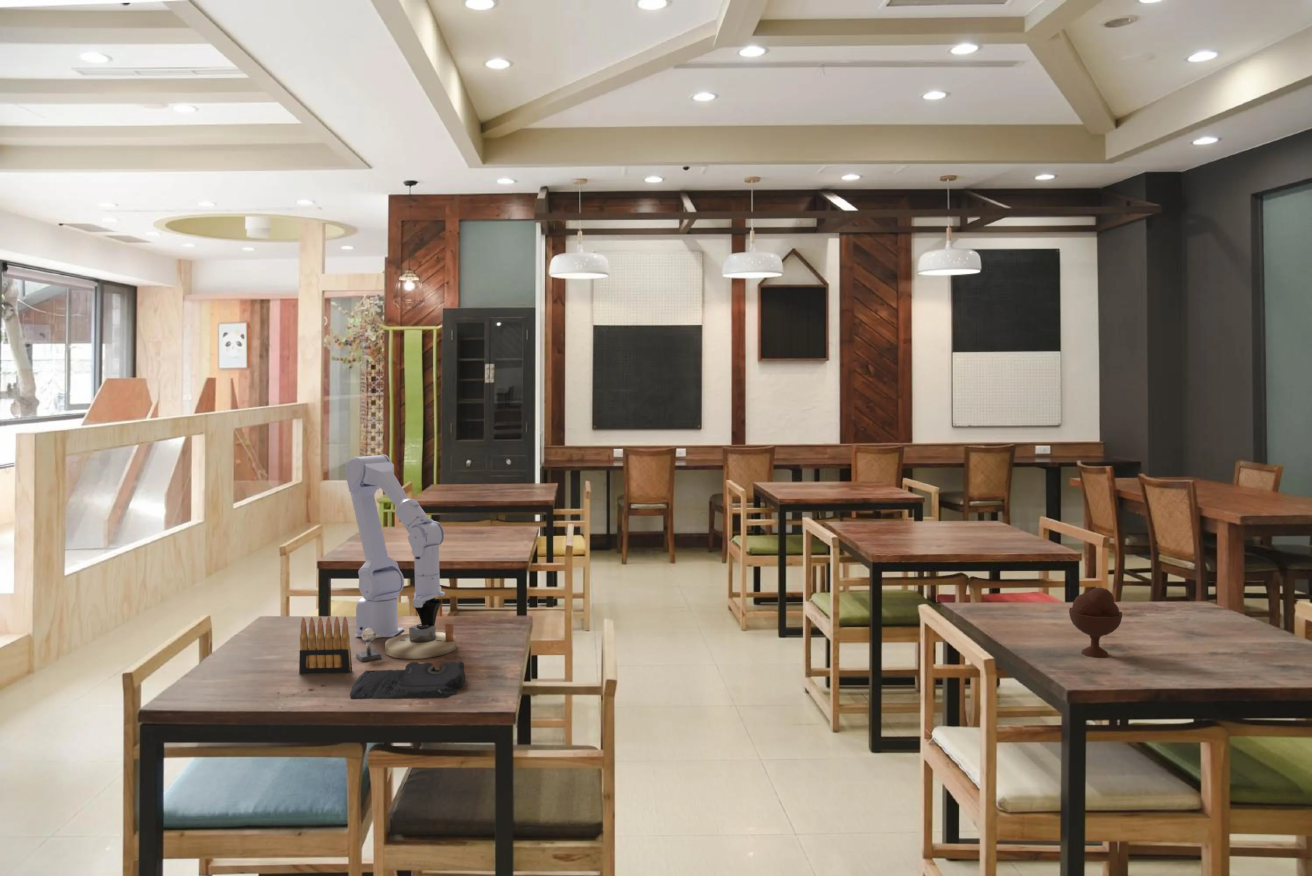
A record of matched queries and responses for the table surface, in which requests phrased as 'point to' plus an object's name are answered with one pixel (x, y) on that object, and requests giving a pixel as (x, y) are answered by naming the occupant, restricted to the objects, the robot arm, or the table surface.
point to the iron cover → (422, 633)
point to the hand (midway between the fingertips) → (428, 631)
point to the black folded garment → (410, 682)
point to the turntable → (421, 645)
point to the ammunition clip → (324, 648)
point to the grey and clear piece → (369, 646)
